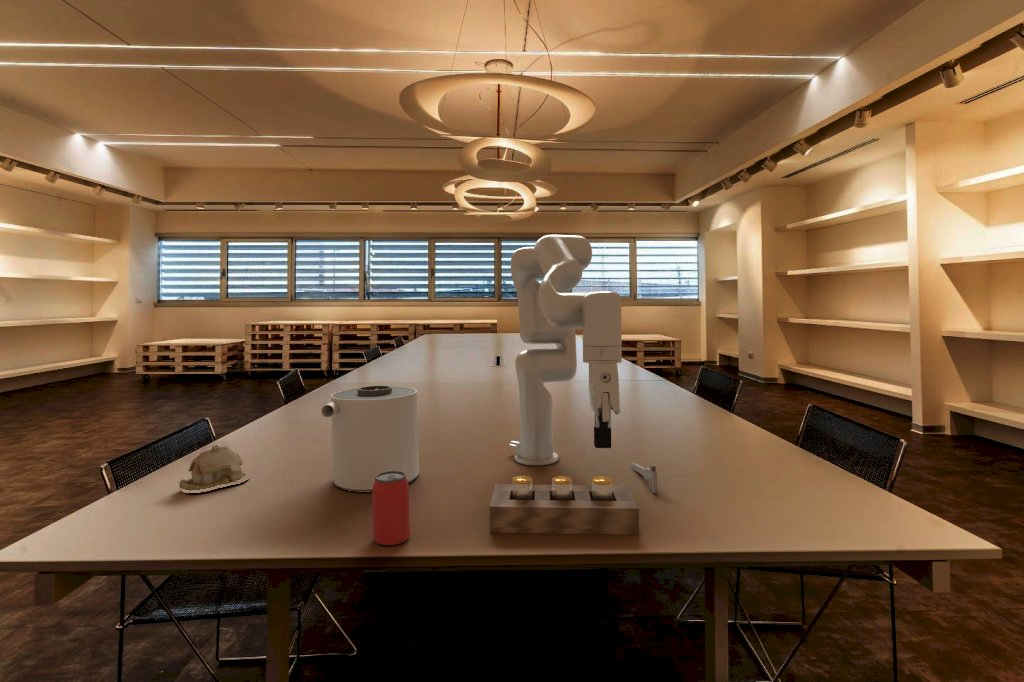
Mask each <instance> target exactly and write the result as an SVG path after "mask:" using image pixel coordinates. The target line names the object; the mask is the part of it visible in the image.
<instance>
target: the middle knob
mask: <svg viewBox="0 0 1024 682" xmlns="http://www.w3.org/2000/svg"><path fill="white" fill-rule="evenodd" d="M551 485H552V500H568V501H572V485H573V479H572V477H569V476H565V475H557V476H554V477H552V479H551Z"/></svg>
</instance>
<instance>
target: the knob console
mask: <svg viewBox="0 0 1024 682" xmlns="http://www.w3.org/2000/svg"><path fill="white" fill-rule="evenodd" d="M497 532H500V533H501V534H502V533H503V534H505V533H506V534H508V533H509V534H561V535H562V534H564V535H565V534H567V535H568V534H569V535H577V534H578V535H622V536H623V535H624V536H625V535H628V536H639V535H640V508H639V506H638V504H637V502H636V499H635V497H634V496H633V494H632V492H631V490H630V488H629V486H628V485H613V484H612V501H592V484H591V485H589V484H572V501H568V500H552V484H532V500H513V490H512V484H511V483H508V484H507V483H506V484H504V483H502V484H501V483H500V484H499V483H498V484H497V483H495V486H494V489H493V493H492V497H491V500H490V503H489V533H497ZM497 534H498V533H497Z"/></svg>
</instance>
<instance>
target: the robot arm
mask: <svg viewBox="0 0 1024 682" xmlns="http://www.w3.org/2000/svg"><path fill="white" fill-rule="evenodd" d="M510 258H511V259H510V274H511V278H512V282H513V285H514V288H515V290H516V291H515V292H516V294H517V303H518V304H517V306H518V307H517V310H518V330H519V336H520V340H521V341H522V342H523V343H524V344H528V345H556V348H534V349H533V348H532V349H526V350H523V351H521V352H520V353H518V354H517V356H516V357H515V363H514V365H515V372H516V377H517V385H518V411H519V412H518V416H519V417H518V419H519V421H518V422H519V423H518V425H519V441H517V440H511V441H510V442H509V446H508V447H509V448H508V449H510V450H515V451H516V453H515V454H514V458H513V459H514V461H515V462H517V463H518V464H522V465H526V466H536V467H537V466H547V465H552V464H555V463H556V462H557V461H559V455H558V453H557V452H555V451H554V437H553V435H554V434H553V433H554V432H553V431H554V429H553V428H554V427H553V424H554V423H553V421H554V420H553V414H554V413H553V409H554V408H553V406H554V405H553V396H552V394H551V393H550V390H548V389H547V388H546V386H545V385H544V384H545V383H547V384H548V383H553V382H554V383H555V382H556V383H557V382H558V383H560V382H569V381H572V380H573V379H574V378H575V377H576V374H577V370H578V369H577V367H578V365H577V362H578V361H577V342H576V341H577V340H576V338H577V336H576V329H582V362H583V363H586V364H588V394H589V406H590V408H591V411H592V412H593V413H594V415H593V416H594V426H593V445H594V448H595V449H611V448H612V426H611V425H612V412H613V413H614V414H615V415H619V414H620V413H621V405H620V385H619V384H620V382H619V369H618V364H619V363H620V364H621V363H622V362H623V361H622V359H623V358H622V347H623V346H622V342H623V341H622V340H623V339H622V332H623V331H622V297H621V295H620V294H619V293H618V292H615V291H607V290H606V291H590V292H569V291H571V290H573V289H574V288H575V287H576V286H577V285H578V284H579V283H580V282H581V280H582V278H583V271H584V270H585V269H587V268H588V267H589V265H590V264H591V262H592V258H593V249H592V245H591V243H590V241H589V240H588V239H587V238H586V237H584V236H581V235H576V234H575V235H573V234H571V235H570V234H547V235H544V236H542V237H541V238H539V239H538V240H537V241H536V242H535V245H534V246H525V247H520V248H518V249H515V250H514V251H513V253H512V255H511V257H510ZM538 279H542V280H541V282H540V281H539V280H538Z"/></svg>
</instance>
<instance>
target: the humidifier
mask: <svg viewBox="0 0 1024 682" xmlns="http://www.w3.org/2000/svg"><path fill="white" fill-rule="evenodd" d="M320 413H321V415H322V416H323V417H325V418H326V419H327V418H331V437H332V438H331V442H332V443H331V445H332V472H333V473H332V475H333V484H334V486H335V487H336V488H338V487H339V488H338V489H340V488H342V489H346V490H351V491H372V489H373V484H374V481H375V476H376V475H378V474H380V473H383V472H387V471H401V472H404V473H405V474H406V478H407V481H408V483H409V484H410V482H411V483H413V482H414V481H416V479H417V478H418V477H419V473H420V470H419V469H420V467H419V466H420V464H419V462H420V461H419V423H418V417H419V416H418V390H417V389H416V388H413V387H408V386H406V387H405V386H389V385H366V386H361V387H358V388H352V389H351V388H350V389H344V390H341V391H336V392H333V393H331V395H330V402H328V403H327V404H324V405H323V406H322V407H321V409H320ZM413 480H414V481H413ZM342 489H341V490H342Z"/></svg>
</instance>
